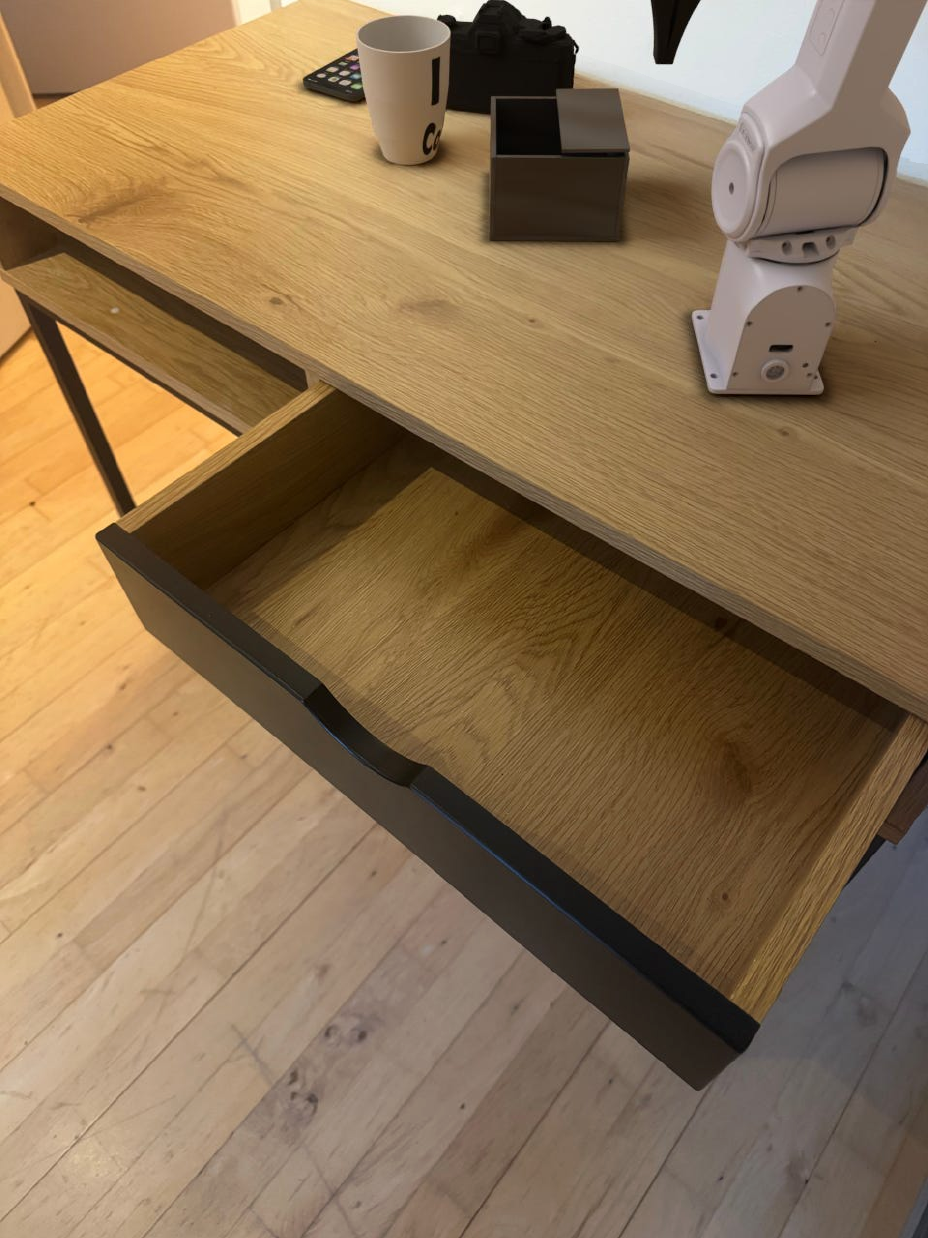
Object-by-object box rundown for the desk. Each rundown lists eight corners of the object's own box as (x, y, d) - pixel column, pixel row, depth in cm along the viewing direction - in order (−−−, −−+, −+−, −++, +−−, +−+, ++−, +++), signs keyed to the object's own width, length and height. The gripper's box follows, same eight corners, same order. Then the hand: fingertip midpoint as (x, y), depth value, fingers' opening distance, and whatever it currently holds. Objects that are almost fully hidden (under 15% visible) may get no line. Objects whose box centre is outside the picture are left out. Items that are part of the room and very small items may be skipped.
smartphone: (439, 46, 98) (355, 96, 91) (440, 53, 99) (355, 103, 91) (385, 31, 101) (298, 79, 93) (385, 38, 101) (299, 86, 94)
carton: (489, 176, 82) (491, 95, 77) (608, 177, 82) (618, 96, 77) (489, 240, 76) (491, 156, 70) (618, 241, 76) (630, 157, 70)
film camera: (585, 84, 94) (595, -17, 87) (566, 126, 88) (575, 21, 81) (445, 68, 97) (443, -31, 89) (418, 108, 91) (414, 5, 84)
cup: (441, 176, 82) (439, 55, 74) (356, 168, 83) (344, 48, 75) (459, 135, 87) (459, 18, 79) (378, 128, 88) (369, 11, 80)
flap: (555, 92, 77) (556, 88, 76) (617, 91, 76) (618, 87, 76) (561, 152, 70) (562, 148, 70) (629, 152, 70) (630, 148, 70)
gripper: (790, -174, 64) (744, 39, 75) (587, -174, 65) (570, 38, 75) (812, -147, 60) (760, 75, 71) (594, -147, 60) (575, 75, 71)
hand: (662, 59), depth 73 cm, fingers closed
